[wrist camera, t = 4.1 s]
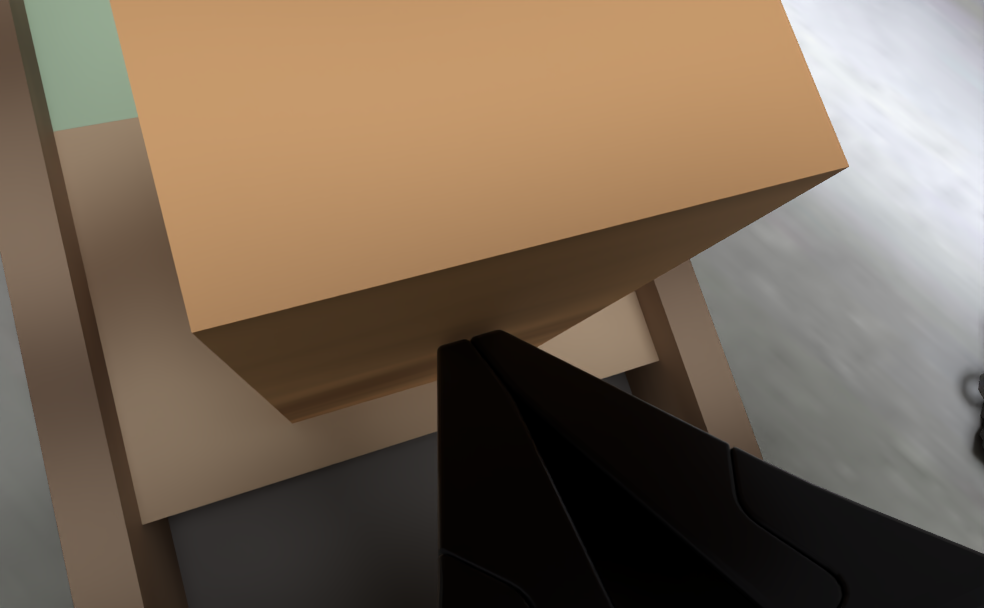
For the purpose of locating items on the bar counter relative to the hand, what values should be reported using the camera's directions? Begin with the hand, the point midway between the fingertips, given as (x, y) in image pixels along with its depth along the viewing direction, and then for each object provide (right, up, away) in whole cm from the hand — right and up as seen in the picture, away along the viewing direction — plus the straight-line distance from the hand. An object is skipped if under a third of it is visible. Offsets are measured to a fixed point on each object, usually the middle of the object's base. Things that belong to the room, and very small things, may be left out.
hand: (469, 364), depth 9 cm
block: (-2, +2, +6) cm, 7 cm away
